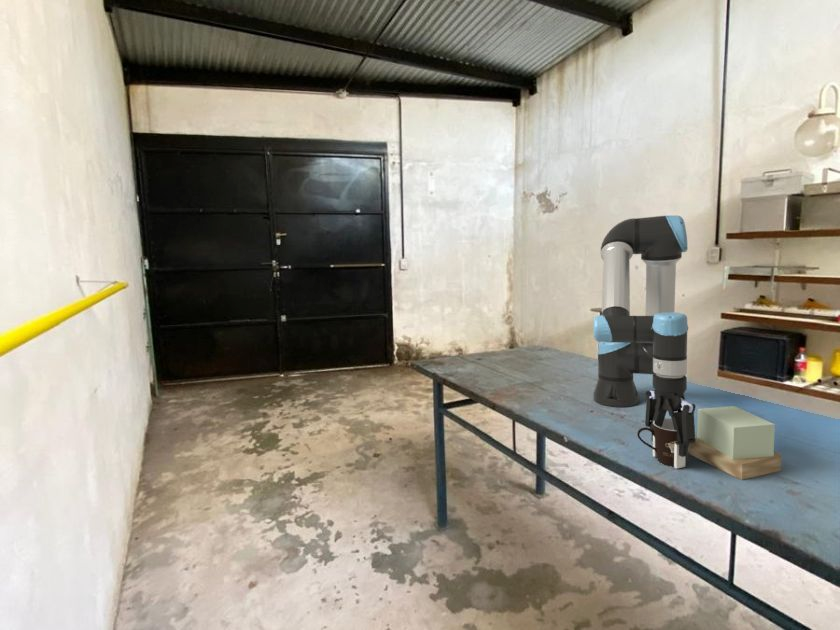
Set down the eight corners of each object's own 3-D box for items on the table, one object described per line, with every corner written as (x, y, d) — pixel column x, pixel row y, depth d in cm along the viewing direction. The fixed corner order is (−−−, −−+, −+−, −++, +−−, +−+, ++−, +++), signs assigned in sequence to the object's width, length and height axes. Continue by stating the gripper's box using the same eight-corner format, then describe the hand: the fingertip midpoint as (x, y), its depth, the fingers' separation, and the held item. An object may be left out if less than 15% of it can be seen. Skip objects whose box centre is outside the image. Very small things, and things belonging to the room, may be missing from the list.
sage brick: (697, 437, 120) (697, 408, 119) (733, 434, 120) (734, 406, 119) (732, 459, 107) (733, 427, 106) (773, 456, 107) (774, 424, 106)
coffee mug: (694, 459, 116) (694, 422, 115) (686, 472, 110) (687, 433, 109) (645, 448, 124) (646, 413, 123) (636, 460, 118) (636, 423, 117)
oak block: (688, 453, 120) (688, 439, 119) (724, 446, 123) (724, 432, 122) (741, 479, 105) (742, 463, 105) (780, 470, 108) (781, 455, 108)
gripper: (629, 367, 121) (629, 448, 124) (689, 386, 103) (687, 481, 106) (652, 364, 123) (652, 444, 126) (715, 382, 105) (713, 475, 108)
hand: (668, 460), depth 116 cm, fingers closed on coffee mug, 6 cm apart
